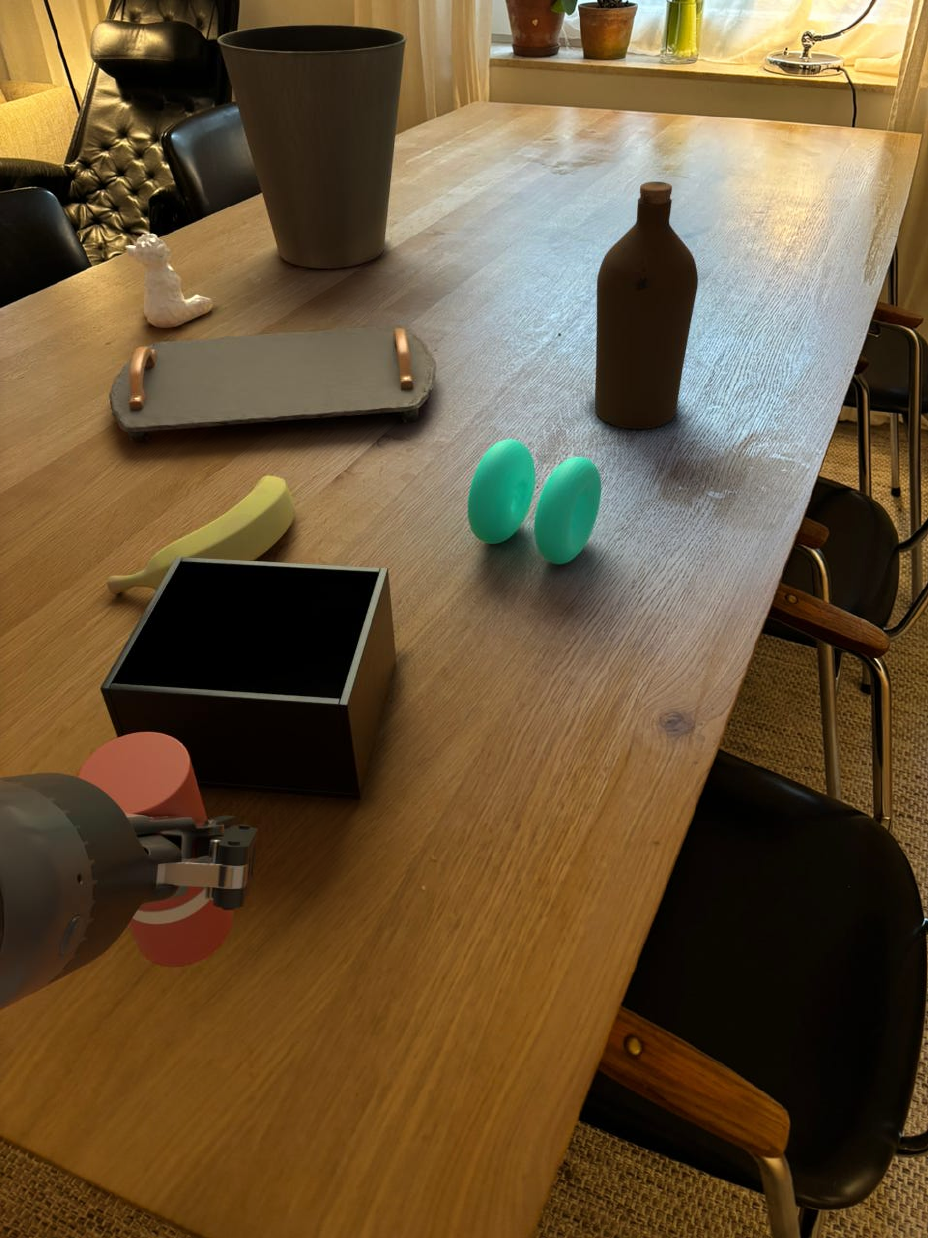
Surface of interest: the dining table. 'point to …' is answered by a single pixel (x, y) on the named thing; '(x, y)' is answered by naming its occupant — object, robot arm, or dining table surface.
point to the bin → (262, 672)
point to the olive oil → (644, 317)
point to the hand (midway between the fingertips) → (176, 832)
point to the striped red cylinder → (160, 785)
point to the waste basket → (320, 133)
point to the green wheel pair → (509, 493)
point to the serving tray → (272, 379)
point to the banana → (225, 535)
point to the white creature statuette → (164, 286)
